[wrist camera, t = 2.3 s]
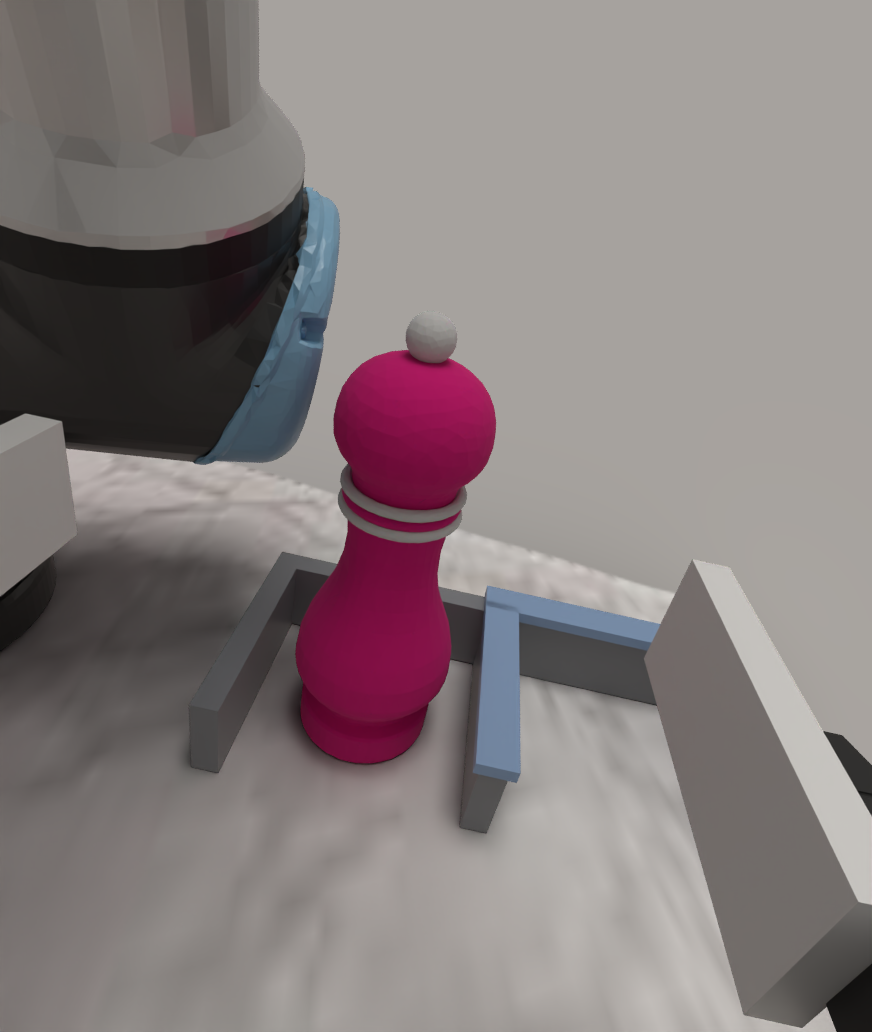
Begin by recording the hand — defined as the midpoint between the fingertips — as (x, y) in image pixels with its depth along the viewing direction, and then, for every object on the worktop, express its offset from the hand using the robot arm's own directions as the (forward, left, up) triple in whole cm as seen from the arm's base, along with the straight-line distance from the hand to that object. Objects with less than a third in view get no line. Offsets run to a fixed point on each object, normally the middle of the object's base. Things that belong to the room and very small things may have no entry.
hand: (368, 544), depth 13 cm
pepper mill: (-7, +8, -17) cm, 20 cm away
